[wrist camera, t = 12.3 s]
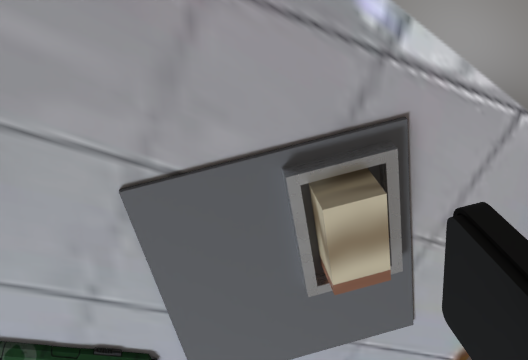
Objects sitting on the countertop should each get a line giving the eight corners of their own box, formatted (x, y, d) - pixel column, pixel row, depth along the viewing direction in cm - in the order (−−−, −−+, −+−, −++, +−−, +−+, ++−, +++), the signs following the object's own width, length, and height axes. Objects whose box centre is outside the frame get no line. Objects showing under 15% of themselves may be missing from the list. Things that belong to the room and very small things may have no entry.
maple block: (308, 182, 41) (322, 210, 37) (367, 167, 41) (386, 193, 38) (321, 264, 45) (334, 295, 42) (373, 250, 46) (391, 280, 42)
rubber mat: (197, 382, 51) (197, 385, 51) (119, 189, 38) (119, 192, 38) (411, 321, 52) (413, 324, 52) (405, 116, 40) (407, 118, 39)
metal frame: (303, 286, 46) (308, 297, 45) (281, 168, 39) (285, 177, 38) (396, 260, 47) (402, 271, 46) (390, 140, 40) (397, 148, 39)
